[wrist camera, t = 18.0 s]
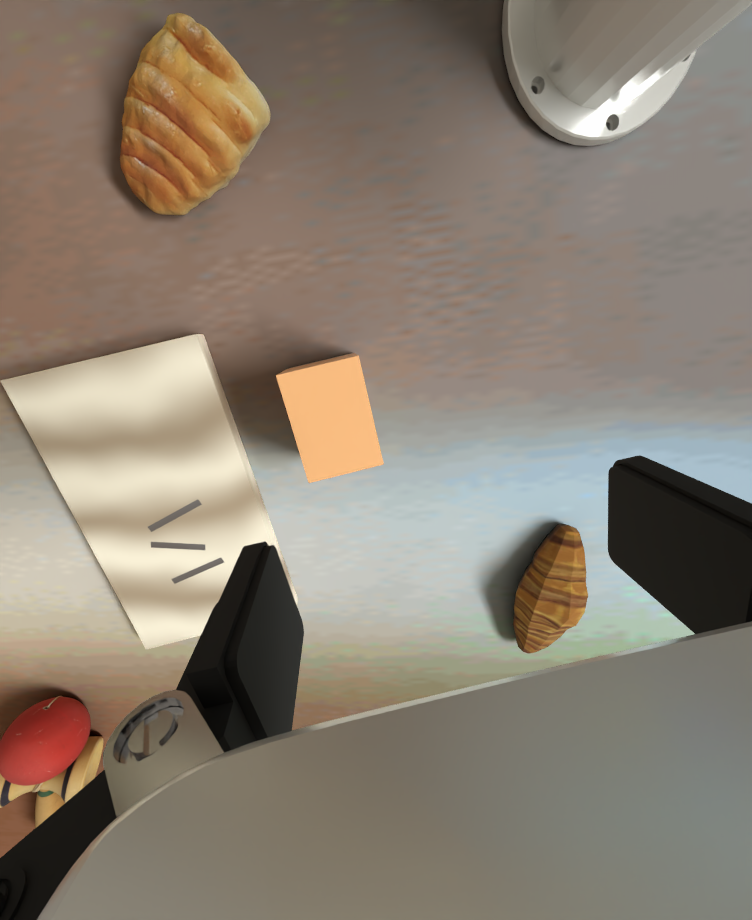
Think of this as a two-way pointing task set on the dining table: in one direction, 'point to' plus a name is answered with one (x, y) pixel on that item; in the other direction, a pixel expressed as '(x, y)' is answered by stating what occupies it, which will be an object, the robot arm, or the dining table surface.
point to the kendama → (48, 755)
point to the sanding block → (331, 416)
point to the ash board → (150, 476)
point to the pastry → (187, 118)
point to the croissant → (551, 590)
